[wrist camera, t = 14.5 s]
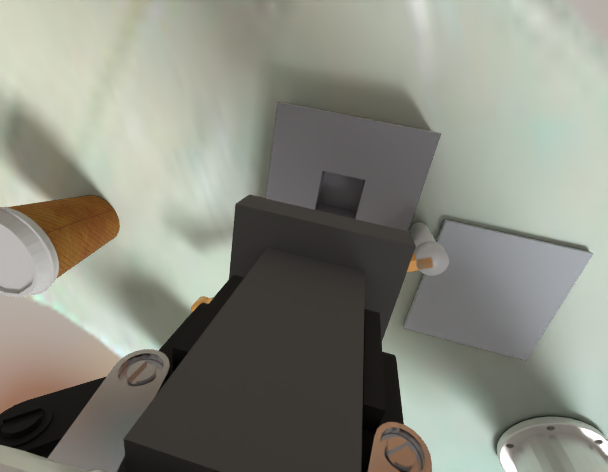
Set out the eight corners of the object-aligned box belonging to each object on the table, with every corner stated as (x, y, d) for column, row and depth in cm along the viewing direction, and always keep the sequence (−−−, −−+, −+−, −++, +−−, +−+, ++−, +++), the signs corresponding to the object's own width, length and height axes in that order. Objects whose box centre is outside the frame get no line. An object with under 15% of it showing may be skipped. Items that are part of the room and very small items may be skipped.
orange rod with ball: (441, 237, 26) (445, 244, 25) (447, 263, 27) (451, 272, 26) (193, 295, 34) (186, 302, 33) (203, 314, 35) (196, 322, 33)
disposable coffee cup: (78, 249, 42) (-22, 297, 32) (55, 181, 39) (-66, 208, 28) (138, 253, 41) (54, 305, 30) (120, 182, 37) (18, 212, 26)
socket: (464, 137, 28) (485, 142, 23) (416, 266, 34) (424, 293, 29) (288, 103, 30) (272, 101, 25) (270, 231, 36) (254, 250, 31)
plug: (403, 212, 15) (505, 495, 4) (367, 324, 18) (366, 676, 7) (267, 182, 16) (28, 346, 5) (253, 293, 19) (81, 563, 7)
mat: (589, 251, 30) (593, 253, 29) (523, 356, 36) (525, 360, 35) (444, 219, 32) (446, 220, 31) (403, 325, 37) (403, 328, 37)
